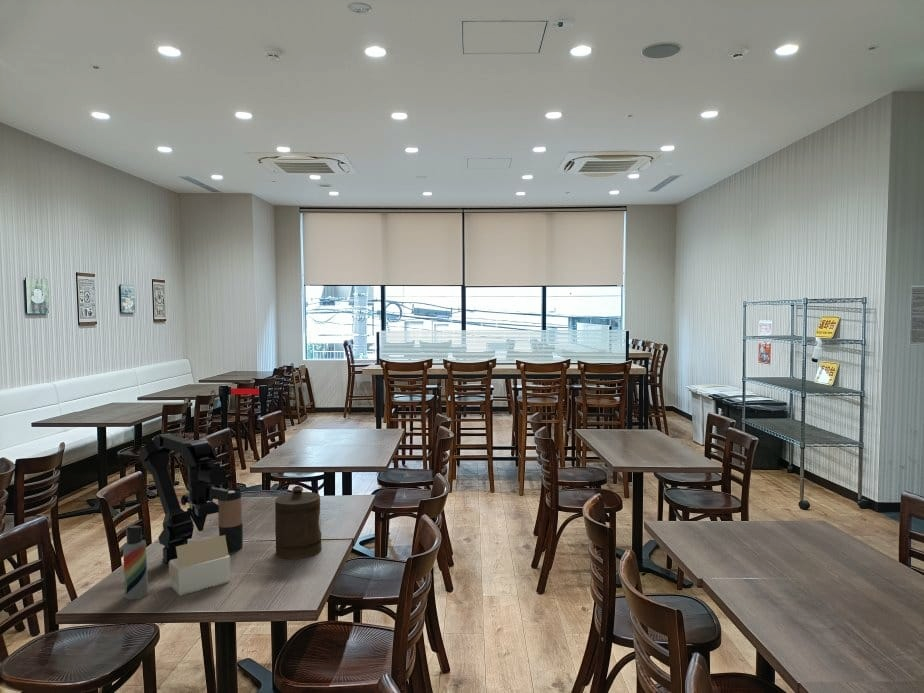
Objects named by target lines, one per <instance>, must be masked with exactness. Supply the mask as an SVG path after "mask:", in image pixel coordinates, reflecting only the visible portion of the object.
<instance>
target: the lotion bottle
mask: <svg viewBox="0 0 924 693" xmlns="http://www.w3.org/2000/svg"><path fill="white" fill-rule="evenodd" d="M125 530H126V532H125V533H126V534H125V535H126V536H125V537H126V541H125V543H124V544H123V545H122V547H123V548H122V550H123V551H122V555H123V556H122V558H123V577H124V578H123V579H124V582H123V583H124V597H125V599H126V600H130V601H133V600H138V599H142V598H144V597H146V596H147V595H148V592H149V591H148V590H149V589H148V587H149V585H148V562H147V558H148V557H147V542H146V540H145V539H143V533H142V532H143V530H142V525H129V526H127V527H126V528H125Z"/></svg>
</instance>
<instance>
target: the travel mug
mask: <svg viewBox="0 0 924 693" xmlns="http://www.w3.org/2000/svg"><path fill="white" fill-rule="evenodd" d="M226 490H227V491H229V492H228V495H227V499H226V501H222V500H218V499H217V505H219V512H218V513H217V514H218V518H217V519H218V537H219V536H223V535H225V537H226V543H227V549H228V552H230V553H235V552H234V551H236V552H238V551H237V550H239V551H241V550H242V549H243V548H244V545H243V544H244V543H243V539H244V538H243V532H244V531H243V530H244V528H243V525H244V524H243V523H244V522H243V502H242V500H243V498H242V489H241V488H239V487H231V488H230V489H226ZM241 548H242V549H241ZM240 549H241V550H240Z"/></svg>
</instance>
